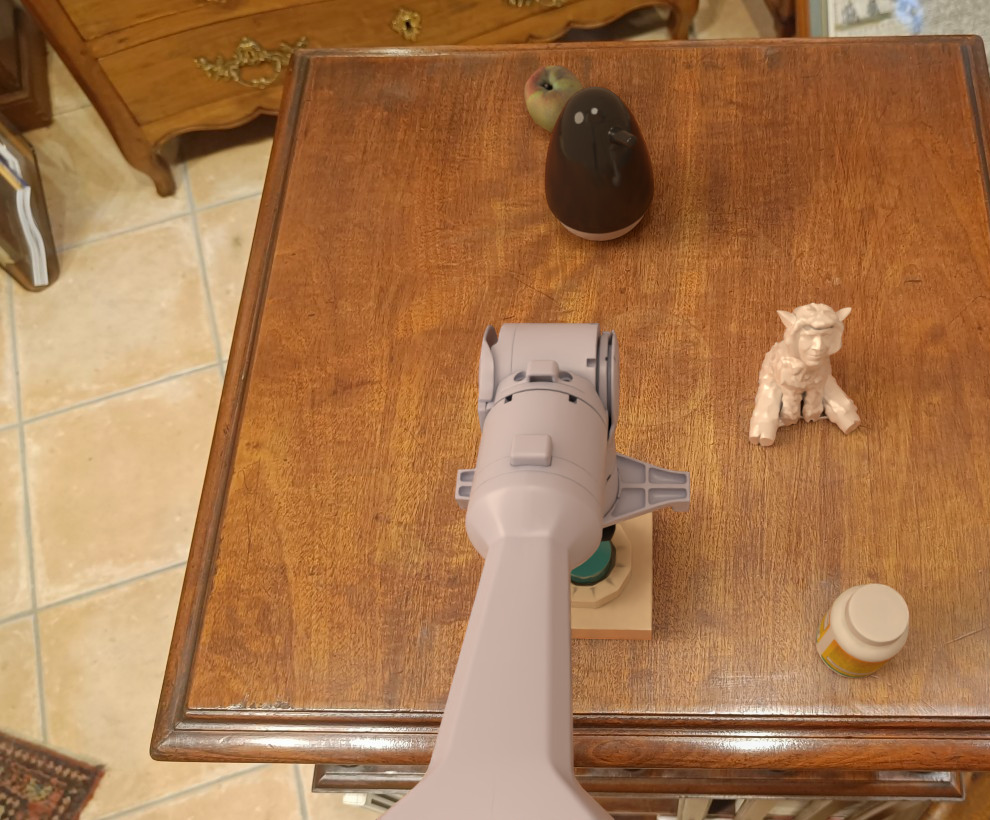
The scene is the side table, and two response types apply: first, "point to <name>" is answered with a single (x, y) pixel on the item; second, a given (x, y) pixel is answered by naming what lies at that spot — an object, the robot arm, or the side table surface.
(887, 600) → the supplement bottle
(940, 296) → the side table surface
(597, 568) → the teal button
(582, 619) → the push button box
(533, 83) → the apple
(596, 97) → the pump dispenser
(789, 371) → the white creature statuette
